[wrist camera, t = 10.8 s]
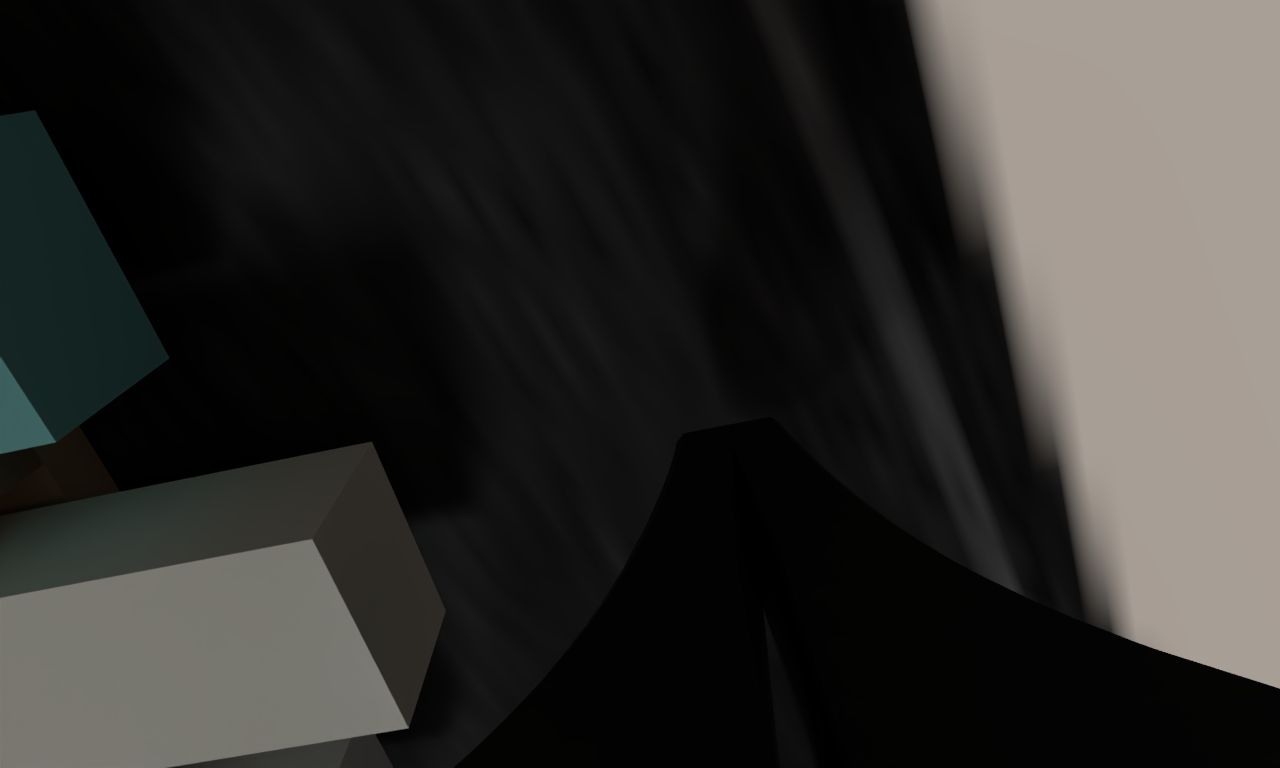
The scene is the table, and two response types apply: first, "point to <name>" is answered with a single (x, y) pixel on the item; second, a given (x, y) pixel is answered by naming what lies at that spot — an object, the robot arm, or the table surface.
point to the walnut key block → (52, 474)
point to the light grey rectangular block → (311, 756)
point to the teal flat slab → (58, 299)
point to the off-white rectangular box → (213, 617)
